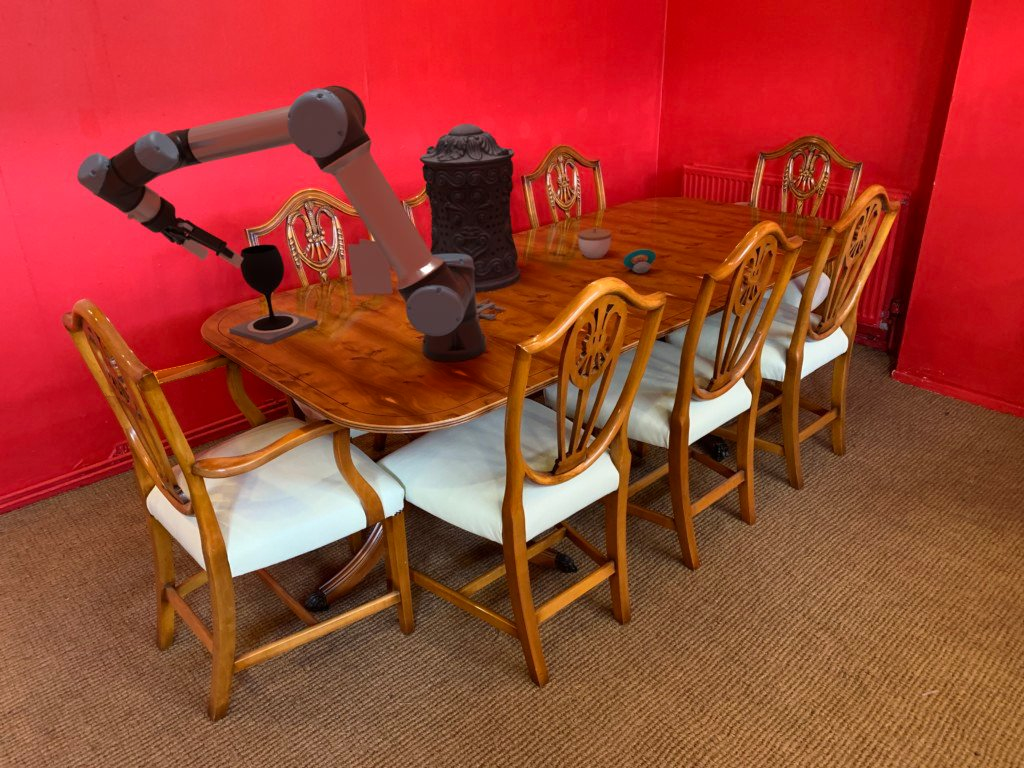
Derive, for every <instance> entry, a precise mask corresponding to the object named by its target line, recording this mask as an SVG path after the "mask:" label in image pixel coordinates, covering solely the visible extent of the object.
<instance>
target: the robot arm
mask: <svg viewBox="0 0 1024 768" xmlns="http://www.w3.org/2000/svg"><path fill="white" fill-rule="evenodd" d="M366 125H367V112H366V107H365V105H364V102H363V100H361V98H360V96H359V95H358V94H357V93H355V92H354V91H353V90H351V89H350V88H348V87H345V86H342V85H329V86H325V87H321V88H312V89H310V90H308V91H305V92H304V93H303V94H301V95H299V96H298V97H296V99H295V100H294V101H293V103H292V104H291V105H288V106H282V107H279V108H274V109H269V110H265V111H262V112H261V111H260V112H256V113H255V112H254V113H252V114H247V115H243V116H239V117H234V118H229V119H224V120H220V121H215V122H211V123H206V124H203V125H197V126H195V127H194V126H193V127H191V128H186V129H178V130H173V131H170V132H167V133H164V132H163V133H162V132H159V131H157V130H154V131H150V132H148V133H147V134H145V135H143V136H140V137H139V138H137V140H136V141H134V142H133V143H131V144H130V145H128V146H127V147H126V148H124V149H123V150H122V151H120V152H119V153H117V154H115V155H114V156H111V157H110V158H108V157H107V156H105V155H103V154H102V153H99V152H97V153H92V154H90V155H89V156H87V157H86V158H84V160H83V161H82V163H81V164H80V165H79V168H78V170H77V175H76V176H77V180H78V182H79V184H80V185H81V186H83V187H84V188H86V189H87V190H89V192H91V193H92V194H93V195H94V196H96V197H98V198H100V199H101V200H103V201H105V202H106V203H108V204H109V205H111V206H113V207H115V208H116V209H118V210H119V211H120V212H122V213H124V214H125V215H127V217H126V218H127V220H129V221H131V220H134V221H136V222H138V223H139V224H140V225H142V226H143V227H144V228H146V229H147V230H149V231H150V232H152V233H155V234H158V233H160V234H161V235H163V237H165V239H167V240H168V241H169V242H170V243H172V244H176V245H178V246H181V247H182V248H183V249H185V250H187V251H188V252H189V253H191V254H193V255H194V256H195V257H197V258H199V259H201V260H202V261H205V260H206V258H207V257H208V255H209V253H210V250H211V251H213V252H215V256H217V257H220V258H221V259H223V260H225V261H226V262H228V263H229V264H231V266H233V267H235V268H236V269H239V268H240V267H241V266H240V264H241V263H242V261H243V259H244V258H243V257H241V254H239V253H238V252H236V251H234V250H233V249H232V248H230V247H229V246H227V245H228V243H227V242H226V240H225V241H224V240H223V239H221V238H219V237H217V236H215V234H214V235H213V234H212V233H210V232H208V231H206V230H204V229H203V228H202V227H200V226H197V225H196V224H194V223H193V222H191V221H190V220H188V219H183V218H182V217H178V216H177V217H176V208H175V206H174V204H172V203H171V202H170V201H168V200H167V199H165V198H164V197H162V196H160V195H159V193H157V192H156V191H155V190H153V189H152V188H150V187H148V186H147V184H148V183H150V182H151V181H153V180H154V179H155V180H156V179H157V178H158V177H160V176H164V175H166V174H168V173H169V174H170V173H171V172H174V171H177V170H179V169H183V168H187V167H191V166H197V165H200V164H204V163H209V162H213V161H218V160H223V159H227V158H233V157H238V156H242V155H247V154H251V153H256V152H261V151H267V150H270V149H271V150H272V149H275V148H280V147H284V146H285V147H286V146H289V145H295V147H296V148H297V149H298V150H300V151H301V152H302V153H304V154H306V156H307V155H308V156H309V157H312V159H313V161H314V162H315V163H316V165H317V166H318V169H320V170H321V172H322V173H324V174H325V173H326V174H329V175H332V176H333V177H334V178H335V181H337V184H338V185H339V186H340V188H341V190H342V191H343V193H344V195H345V196H346V198H348V200H349V202H350V204H351V206H352V207H353V208H354V210H355V212H356V213H357V215H358V216H359V218H360V219H361V222H363V224H364V226H365V228H366V229H367V230H368V232H369V234H370V236H371V237H372V238H373V241H376V243H377V245H378V246H379V248H380V249H381V251H382V252H383V254H384V256H385V257H386V259H387V260H388V262H389V263H390V267H391V268H392V269H393V271H394V273H395V274H396V276H397V283H396V289H397V291H398V293H399V294H400V295H401V297H402V299H403V300H404V302H405V303H406V304H405V305H406V306H405V311H406V312H405V313H406V317H407V320H408V322H409V323H410V325H411V326H412V327H413V328H414V329H415V330H416V331H417V332H419V333H420V334H423V335H424V336H423V340H422V353H423V355H424V356H425V357H426V358H428V359H431V360H433V361H438V362H461V361H465V360H470V359H473V358H476V357H478V356H480V355H482V354H483V353H484V352H485V351H486V349H487V338H486V336H485V334H484V333H483V330H482V327H481V324H480V320H479V321H478V319H477V311H476V310H477V307H476V303H477V297H476V295H477V294H476V293H475V279H474V270H475V267H474V265H473V259H472V257H471V256H469V255H466V254H437V255H432V253H431V252H430V251H431V249H429V247H428V245H427V243H426V241H424V238H423V237H422V236H421V234H420V231H418V229H417V227H416V225H415V224H414V222H413V220H412V219H411V218H410V216H409V214H408V213H407V210H406V209H405V208H404V206H403V205H402V203H401V201H400V199H399V198H398V196H397V195H396V193H395V191H394V190H393V188H392V186H391V184H389V181H388V180H387V179H386V176H385V175H384V174H383V172H382V170H381V169H380V168H379V166H378V164H377V162H376V160H375V158H374V157H373V156H372V154H371V146H372V139H371V138H370V135H368V133H367V131H366V130H365V128H366Z"/></svg>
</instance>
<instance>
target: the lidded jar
mask: <svg viewBox="0 0 1024 768" xmlns="http://www.w3.org/2000/svg"><path fill="white" fill-rule="evenodd" d="M577 237H578V238H577V239H578V240H577V243H578V248H579V250H580V252H581V253H582V254H583V255H584V257H585V258H587V259H592V260H593V259H595V260H596V259H602V258H603V257H605V255H606V254H607V253H608V252H609V249H610V247H611V238H612V232H611V231H610V230H608V229H604V228H603V229H602V228H597V227H592V228H589V229H583V230H580V231H578V233H577Z"/></svg>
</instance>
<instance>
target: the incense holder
mask: <svg viewBox="0 0 1024 768" xmlns="http://www.w3.org/2000/svg"><path fill="white" fill-rule="evenodd" d="M514 155H515V151H514V150H513V149H512V148H507V147H502V146H500V145H499V144H498V142H497V140H496V138H495V137H494V136H493V135H492V133H491V132H488V131H484V130H483V129H482V128H481V127H480V126H478V125H476V124H471V123H464V124H463V123H462V124H458V125H456V126H454V127H452V128H451V129H450V130H449V132H448V133H446V134H443V135H441V136H440V137H439V139H438V140H437V143H435V146H434V145H429V147H427V149H426V153H424V154H422V155H421V156H420V157H419V161H420V162H421V163H422V164H423V166H421V168H422V177H423V180H424V181H425V182H426V183H425V189H424V190H425V193H426V196H427V197H428V200H429V204H430V214H431V220H430V222H431V223H430V224H431V232H430V235H431V237H430V238H431V245H430V246H431V247H430V252H431V253H432V255H437V254H466V255H469V256H471V257H472V259H473V265H474V267H475V270H474V279H475V294H481V292H483V293H489V291H491V292H495V291H499V290H503V289H506V288H508V287H511V286H513V285H515V284H516V283H518V282H520V281H521V279H522V275H521V268H519V266H518V264H517V263H518V262H519V256H518V251H517V247H516V244H515V241H514V237H513V233H514V230H513V225H512V215H511V193H512V192H513V191H514V190H513V189H514V182H513V174H514V164H513V163H514V161H512V158H513V157H514ZM502 288H503V289H502ZM498 289H499V290H498ZM494 290H495V291H494Z"/></svg>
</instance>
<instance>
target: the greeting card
mask: <svg viewBox="0 0 1024 768" xmlns="http://www.w3.org/2000/svg"><path fill="white" fill-rule="evenodd" d="M358 240H359V241H358V242H359V244H347V252H348V258H349V259H348V260H349V265H350V273H351V280H352V287H353V295H354V296H364V295H392V294H394V291H393V290H394V289H393V283H392V274H391V265H390V263H389V262H388V260H387V259H386V257H385V256H384V254H383V252H382V251H381V249H380V248H379V246H378V245H377V243H376V241H375V240H370V239H365V238H364V239H363V238H359V239H358Z"/></svg>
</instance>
